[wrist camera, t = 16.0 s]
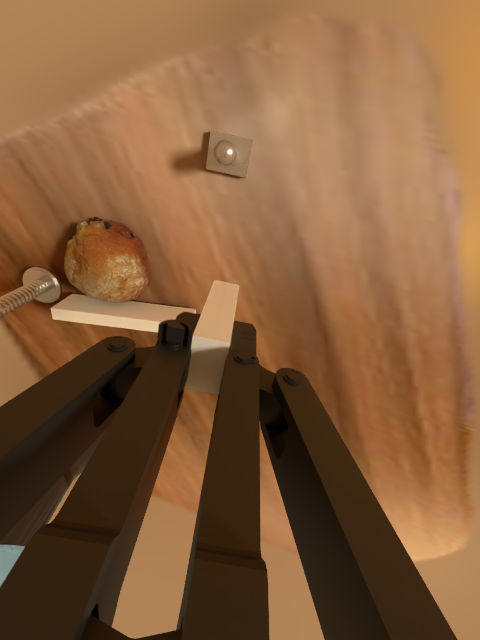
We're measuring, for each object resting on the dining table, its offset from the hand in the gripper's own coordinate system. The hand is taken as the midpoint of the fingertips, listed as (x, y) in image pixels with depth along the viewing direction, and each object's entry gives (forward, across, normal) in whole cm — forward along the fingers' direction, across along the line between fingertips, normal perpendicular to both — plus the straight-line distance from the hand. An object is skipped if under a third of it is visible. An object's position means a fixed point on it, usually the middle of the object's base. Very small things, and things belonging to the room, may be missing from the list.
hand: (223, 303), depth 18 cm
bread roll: (+21, +15, +6) cm, 26 cm away
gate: (+19, +12, +12) cm, 25 cm away
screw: (+20, +24, +11) cm, 33 cm away
